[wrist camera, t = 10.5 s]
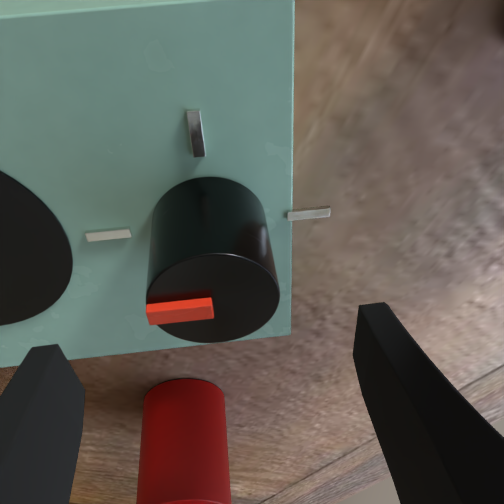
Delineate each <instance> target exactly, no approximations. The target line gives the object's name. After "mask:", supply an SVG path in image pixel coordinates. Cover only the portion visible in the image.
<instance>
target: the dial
mask: <svg viewBox="0 0 504 504" xmlns="http://www.w3.org/2000/svg"><path fill="white" fill-rule="evenodd" d="M279 301H280V288H279V283H278V278H277V273H276V268H275V263H274V257H273V252H272V247H271V242H270V237H269V232H268V227H267V222H266V217H265V212H264V209H263V206H262V204H261V202H260V200H259V199H258V198H257V196H256V195H255V194H254V193H253V192H252V191H251V190H249V189H248V188H247V187H245V186H244V185H242V184H240V183H238V182H236V181H233V180H230V179H227V178H222V177H212V176H209V177H198V178H193V179H189V180H186V181H184V182H181V183H179V184H177V185H176V186H174V187H172V188H171V189H170V190H168V191H167V192H166V193H165V194H164V195H163V196H162V197H161V198H160V200H159V201H158V203H157V205H156V206H155V209H154V212H153V216H152V226H151V238H150V250H149V262H148V274H147V286H146V316H147V319H148V322H149V325H157V326H158V327H159V328H161V329H162V330H163V331H165V332H166V333H168V334H170V335H172V336H174V337H177V338H179V339H182V340H186V341H191V342H197V343H221V342H228V341H232V340H236V339H239V338H242V337H245V336H247V335H249V334H251V333H253V332H255V331H257V330H258V329H260V328H261V327H263V326H264V325H265V324H266V323H267V322H268V321H269V320H270V319H271V318H272V317H273V315H274V314H275V312H276V310H277V308H278V305H279Z"/></svg>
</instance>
